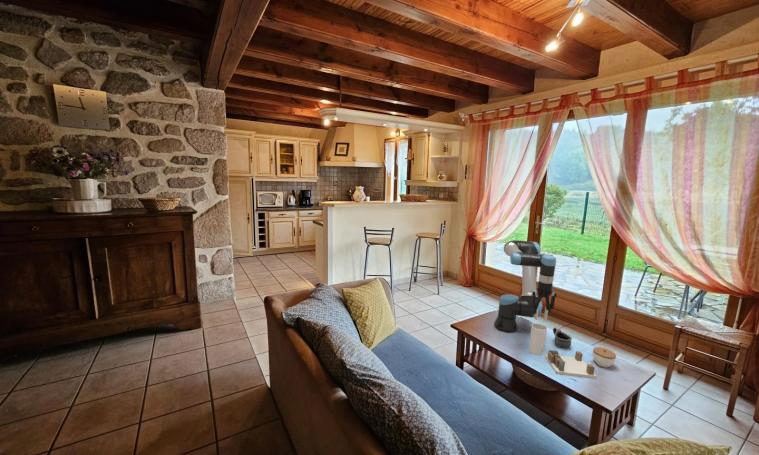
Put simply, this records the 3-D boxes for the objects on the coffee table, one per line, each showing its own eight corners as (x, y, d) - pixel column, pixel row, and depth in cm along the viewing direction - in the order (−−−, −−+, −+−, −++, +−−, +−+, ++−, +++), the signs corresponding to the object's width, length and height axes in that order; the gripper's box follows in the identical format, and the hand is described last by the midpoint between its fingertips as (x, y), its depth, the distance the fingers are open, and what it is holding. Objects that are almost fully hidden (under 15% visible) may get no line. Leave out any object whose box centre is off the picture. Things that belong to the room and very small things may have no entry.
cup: (545, 355, 190) (548, 330, 187) (530, 353, 192) (533, 328, 189) (541, 348, 198) (544, 324, 195) (527, 346, 200) (530, 322, 197)
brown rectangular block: (562, 367, 175) (563, 360, 174) (556, 367, 176) (557, 359, 175) (555, 358, 184) (556, 351, 184) (549, 357, 185) (551, 350, 184)
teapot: (563, 351, 196) (566, 336, 194) (545, 341, 207) (547, 327, 205) (574, 348, 200) (576, 333, 198) (556, 339, 211) (558, 324, 209)
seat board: (544, 356, 189) (545, 346, 188) (580, 360, 187) (582, 350, 186) (556, 374, 172) (558, 363, 171) (596, 378, 170) (598, 367, 169)
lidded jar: (587, 361, 186) (589, 346, 185) (599, 357, 191) (601, 343, 189) (606, 371, 177) (608, 356, 175) (618, 367, 181) (621, 352, 180)
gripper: (531, 282, 185) (526, 320, 189) (564, 285, 183) (558, 323, 187) (527, 278, 192) (523, 315, 196) (558, 281, 190) (553, 318, 194)
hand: (540, 319), depth 191 cm, fingers open, 5 cm apart
